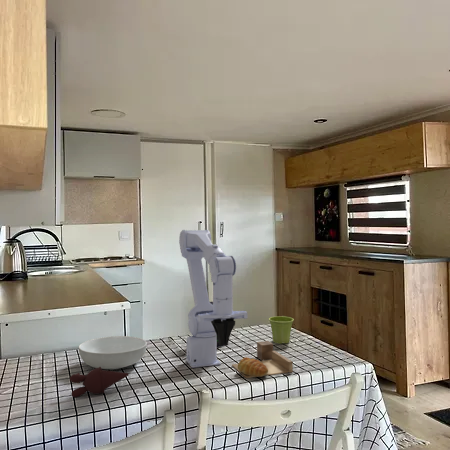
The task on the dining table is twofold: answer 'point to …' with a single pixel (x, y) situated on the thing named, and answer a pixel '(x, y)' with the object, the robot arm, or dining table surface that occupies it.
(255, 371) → the pastry
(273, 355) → the board
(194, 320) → the robot arm
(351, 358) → the dining table surface
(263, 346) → the walnut block
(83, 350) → the serving bowl
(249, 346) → the dining table surface
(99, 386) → the icecream
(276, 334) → the plant pot
